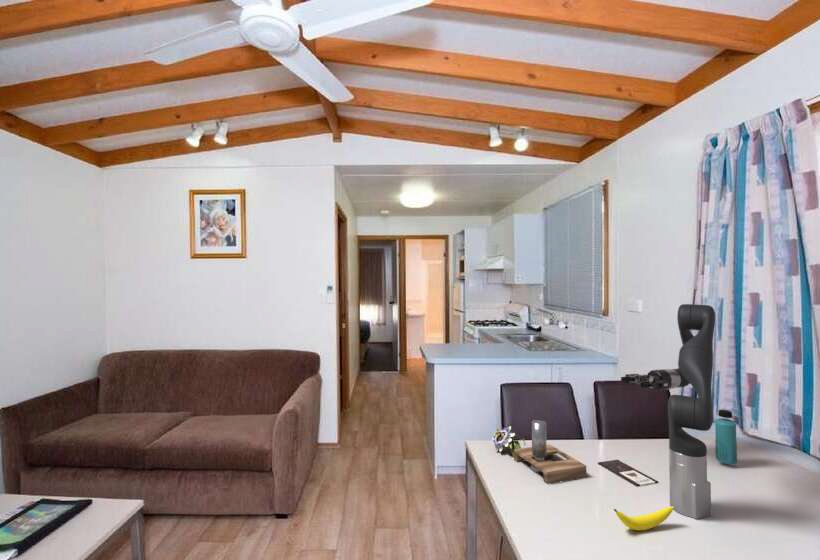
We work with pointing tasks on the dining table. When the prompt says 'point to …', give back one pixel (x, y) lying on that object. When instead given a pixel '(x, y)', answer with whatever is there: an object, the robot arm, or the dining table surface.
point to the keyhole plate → (553, 465)
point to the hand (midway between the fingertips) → (630, 382)
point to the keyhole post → (538, 442)
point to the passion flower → (505, 440)
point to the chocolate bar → (628, 473)
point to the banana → (645, 519)
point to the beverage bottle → (726, 438)
